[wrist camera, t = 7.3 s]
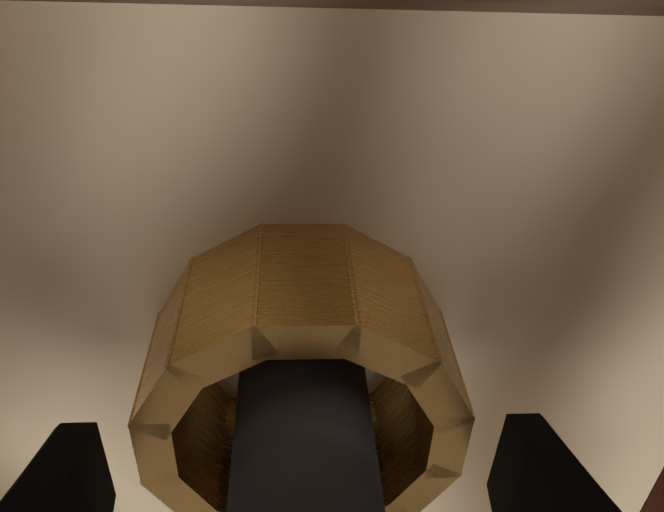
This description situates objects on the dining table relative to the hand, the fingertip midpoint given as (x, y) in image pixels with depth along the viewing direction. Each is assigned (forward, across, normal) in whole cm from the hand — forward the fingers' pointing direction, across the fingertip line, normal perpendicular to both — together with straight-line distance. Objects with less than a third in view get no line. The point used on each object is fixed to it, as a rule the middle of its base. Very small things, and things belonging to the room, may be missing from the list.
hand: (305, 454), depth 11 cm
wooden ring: (+3, 0, 0) cm, 3 cm away
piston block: (+4, 0, 0) cm, 4 cm away
